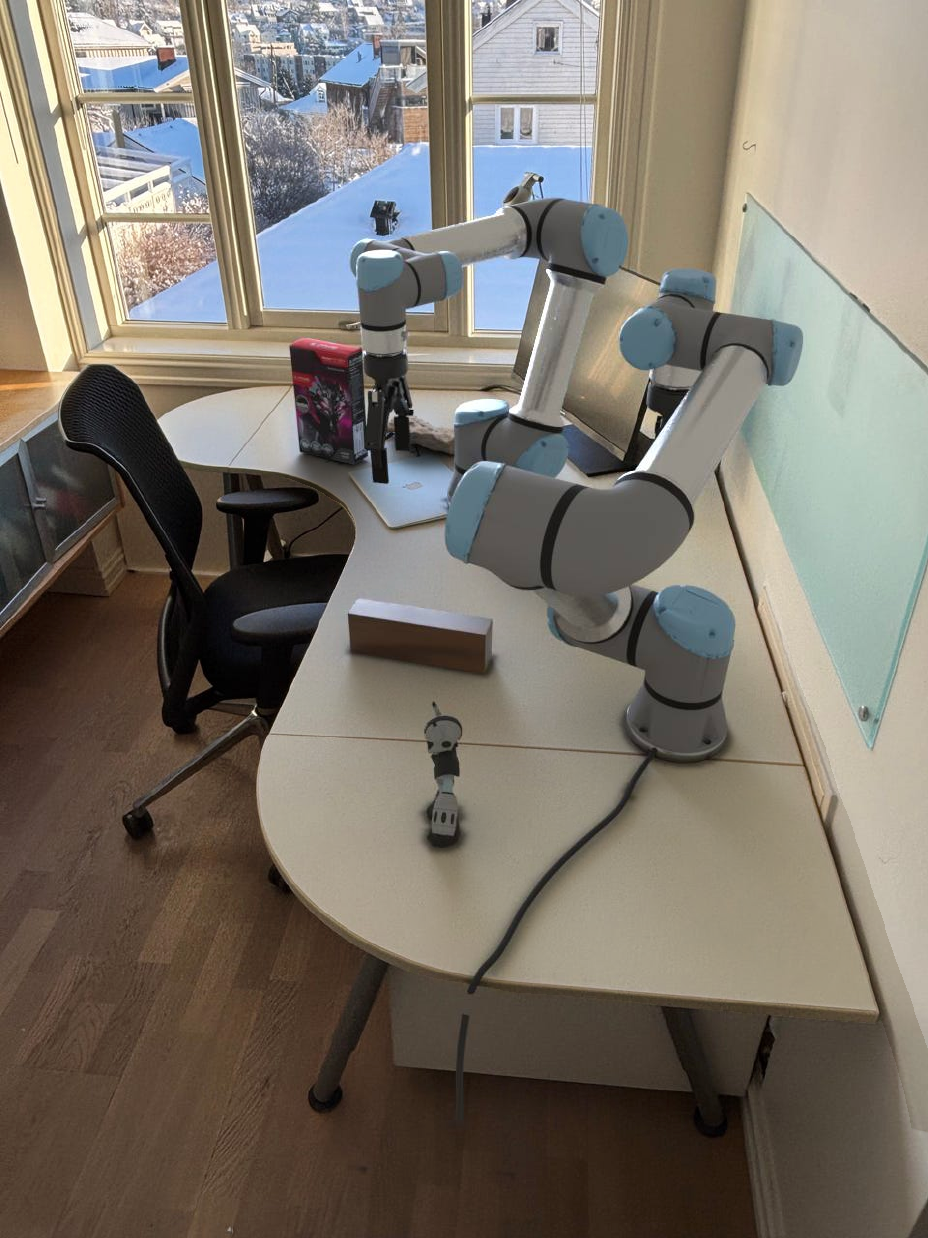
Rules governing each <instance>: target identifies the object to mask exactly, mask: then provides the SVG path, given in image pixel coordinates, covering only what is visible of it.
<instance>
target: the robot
mask: <svg viewBox="0 0 928 1238" xmlns="http://www.w3.org/2000/svg"><path fill="white" fill-rule="evenodd" d="M431 706H432V708H433V711H434V714H435V716H434V717H432V718H431V719H430V720H429V721H428V722H425V723H426V724H425V726H424V728H423V734H424V740H426V744H427V746H426V747H427V753H428V754H430V758H431V760H432V763H433V764H434V766H433V775H434V777H433V778H434V780H435V782H436V784H437V788H438V789H437V791H436V794H435V796H434V799H433V800H432V802H431V803H430V805H429V806H428V807H427V809H426V811H425V812H426V814H427V817H428V819H429V820H430V821H431V826H430V829H429V830H428V832H427V836H426V839H427V841H429V842H430V844H431V845H432V846H434V847H438V848H443V847H445V848H446V847H449V846H451V845H453V844H455V843H458V841H459V838H460V835H461V830H460V823H459V820H458V816H459V815H460V812H459V803H458V798H457V795H455V793H454V792H453V790H454V789H453V788H454V786H455V779H454V778H455V777H457V778H459V777H460V774H461V769H460V761H459V757H458V755H457V754H458V752H457V748H458V747H459V743H458V741H460V740H461V738H462V737H463V726H462V723H461V721H460V720H459V719H458V718H455V716H452V715H450V714H447V713H446V714H442V712H441V710H440V709H439V706H438V705H437V703H436V702H435V701H432V702H431Z"/></svg>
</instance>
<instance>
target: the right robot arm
mask: <svg viewBox="0 0 928 1238" xmlns="http://www.w3.org/2000/svg"><path fill="white" fill-rule="evenodd" d="M716 291H717V279H716V277H715V275H714V274H712V273H711V272H709V271H706V270H702V269H696V268H673V269H669V270H667V271H666V272H664V274H662V277H661V282H660V287H659V289H658V298H657V299H656V300H654V301H652V302H650V303H649V304H647V305H645V306H642V307H641V308H640V307H639V309H637V310H636V311H635V312H634V313H633V314H632V315H630V316H629V317H628V318H627V319H626V321H625V322H624V323H623V324H622V326H621V328H620V331H619V335H618V347H619V351H620V353H621V356H622V357H623V359H624V360H625V361H626V362H627V363H628V364H629V365H630V366H631V367H632V368H635V369H637V370H640V371H649V375H648V378H649V380H650V381H649V382H648V385H647V393H646V401H645V403H646V407H647V408H648V409H649V410H650V411H652V412H654V413H657V417H656V420H655V424H654V440H653V443H652V444H651V446H650V447H649V449H648V451H647V452H646V453H645V455H644V456H643V458H642V460H640V462H639V464H638V465H637V467H636V468H635V470H633V471H629V472H626V473H624V474H623V475H621V476H620V477H618V479H617V480H616V481H615V483H614V484H613V485H612V487H610V488H607V489H600V488H594V487H590V486H586V485H584V484H583V485H582V484H579V483H575V482H571V481H566V480H563V479H560V478H556V477H555V478H552V477H548V476H545V475H541V474H537V473H533V472H530V471H526V470H522V469H519V468H515V467H511V466H507V465H506V464H505V463H496V462H489V461H482V462H478V463H476V464H474V465H473V466H472V467H471V468H470V469H469V470H468V471H467V472H466V473H465V474H464V476H463V477H462V479H461V480H460V482H459V484H458V486H457V488H456V490H455V492H454V494H453V497H452V499H451V502H450V505H449V506H448V509H447V513H446V518H445V526H444V544H445V547H446V550H447V552H448V554H449V555H450V556H451V557H452V558H453V559H454V558H455V559H457V560H458V561H461V562H462V563H463V564H466V565H468V564H471V565H474V566H477V567H480V568H483V569H485V570H487V571H488V572H491V573H492V575H495V576H496V577H497V578H498V579H499V580H500V581H502V582H503V583H504V584H506V585H507V586H509V587H510V588H513V589H516V590H520V591H525V592H526V591H527V592H531V591H532V592H534V593H535V594H536V595H537V596H538V597H539V598H541V599H542V600H543V601H544V602H546V604H547V608H546V609H547V610H546V618H548V620H547V626H548V629H549V631H550V633H551V634H552V636H553V637H554V638H556V639H557V640H558V641H561V642H563V644H566V645H568V646H570V647H573V648H578V649H582V650H585V651H587V652H590V653H594V654H597V655H599V656H602V657H606V658H608V659H612V660H614V661H617V662H620V663H623V664H626V665H629V666H631V667H634V668H637V669H640V670H643V671H644V677H643V682H642V684H641V685H640V688H639V689H638V691H637V692H636V694H635V695H634V697H633V699H632V701H631V702H630V704H629V705H628V707H627V711H626V719H625V728H626V732H627V734H628V736H629V738H630V739H631V741H632V742H634V744H636V745H637V746H638V747H639V748H640V749H641V750H643V751H645V752H646V753H648V754H647V756H646V757H645V758H644V760H643V761H642V762H641V764H640V765H639V767H638V768H637V769H636V771H635V773H634V774H633V776H632V778H631V779H630V781H629V783H628V785H627V787H626V789H625V792H624V794H623V796H622V798H621V799H620V801H619V803H618V804H617V805H616V807H615V808H614V809H613V810H612V811H611V812H610V813H608V815H607V816H605V818H603V819H602V820H601V821H600V822H599V823H598V824H596V825H595V826H593V828H592V829H590V830H589V831H587V833H586V834H585V835H584V836H582V837H581V839H579V840H578V841H577V842H576V843H575V844H574V845H573V846H572V847H570V848H569V849H568V850H567V851H566V852H565V853H564V854H563V855H562V856H561V857H560V858H559V859H558V860H557V861H556V862H555V863H554V864H553V865H552V866H551V867H550V868H549V870H547V871H546V873H545V874H544V875H543V876H542V877H541V879H540V880H539V881H538V882H537V883H536V885H535V886H534V888H532V890H531V891H530V892H529V894H528V896H527V897H526V899H525V900H524V902H523V903H522V904H521V906H520V907H519V909H518V910H517V912H516V914H515V916H514V917H513V919H512V921H511V923H510V925H509V926H508V929H507V930H506V932H505V934H504V936H503V938H502V939H501V941H500V943H499V944H498V946H497V947H496V948H495V950H494V951H493V953H492V954H491V955H490V956H489V957H488V958H487V959H486V960H485V961H484V962H483V963H482V964H481V966H480V967H479V968H478V969H477V971H476V972H475V973H474V976H473V978H472V979H471V982H470V983H469V986H468V989H467V990H466V992H467V995H473V994H475V992H476V991H477V988H478V986H479V984H480V982H481V980H482V979H483V977H484V976H485V974H486V973H487V971H488V970H489V969H490V968H492V967H493V966H494V964H495V963H496V962H497V961H498V960H499V958H500V957H501V956H502V954H503V953H504V951H505V950H506V948H507V946H508V945H509V943H510V942H511V939H512V938H513V937H514V934H515V932H516V931H517V928H518V927H519V924H520V923H521V921H522V919H523V917H524V916H525V914H526V913H527V911H528V909H529V908H530V906H531V905H532V903H533V902H534V901H535V900H536V898H537V896H538V895H539V893H540V892H541V891H542V890H543V889H544V887H545V886H546V885H547V884H548V883H549V881H550V880H551V879H552V878H553V877H554V875H555V874H557V872H558V871H559V870H560V869H561V868H562V867H563V866H564V865H565V864H566V862H568V861H569V860H570V859H571V858H572V857H573V856H574V855H575V854H576V853H578V851H580V850H581V849H582V848H583V847H585V845H586V844H587V843H588V842H590V840H592V838H594V837H595V836H596V835H597V834H598V833H600V832H601V831H602V830H603V829H604V828H606V827H607V826H608V825H609V824H610V823H611V822H613V821H614V819H616V818H617V816H618V815H619V814H620V813H621V812H622V810H623V809H624V807H625V806H626V804H627V803H628V802H629V800H630V797H631V795H632V793H633V791H634V788H635V786H636V784H637V783H638V781H639V779H640V778H641V775H643V772H645V770H646V769H647V767H648V765H649V764H650V763H651V761H652V760H653V758H654V757H656V758H659V759H662V760H666V761H670V762H675V763H694V762H700V761H703V760H706V759H709V758H711V757H714V755H716V754H718V752H720V751H721V750H722V748H723V747H724V744H725V743H726V740H727V739H726V738H727V734H728V721H727V716H726V712H725V708H724V707H725V706H724V701H723V692H724V686H725V682H726V678H727V674H728V668H729V664H730V659H731V654H732V652H733V649H734V646H735V631H736V617H735V615H734V612H733V611H732V609H730V607H729V605H728V603H726V601H725V600H724V599H722V598H721V597H719V596H718V595H717V594H715V593H713V592H711V591H709V590H707V589H705V588H702V587H699V586H695V585H690V584H684V585H682V586H681V585H679V584H672V585H669V586H666V587H664V588H662V589H661V590H660V591H659V592H658V591H655V590H653V589H650V588H646V587H643V586H639V585H636V583H638V582H639V581H641V580H643V579H644V578H646V577H648V576H649V575H650V574H651V573H653V572H655V571H656V570H657V569H660V568H661V567H662V565H664V564H665V563H666V562H667V561H668V560H669V559H670V558H671V557H672V556H674V554H675V553H676V552H677V551H678V550H679V549H680V547H681V546H682V545H683V543H684V542H685V540H686V539H687V537H688V535H689V533H690V531H691V530H692V528H693V526H694V524H695V520H696V510H695V504H696V503H697V501H698V499H699V498H700V496H701V495H702V493H703V492H704V490H705V487H706V486H707V484H708V482H709V481H710V479H711V477H712V476H713V474H714V472H715V471H716V469H717V467H718V465H719V464H720V462H721V460H722V459H723V457H724V456H725V453H726V452H727V451H728V449H729V447H730V445H731V444H732V442H733V440H734V438H735V436H737V433H738V432H739V430H740V428H741V427H742V425H743V423H744V422H745V420H746V418H747V416H748V414H749V413H750V411H751V409H752V408H753V406H754V405H755V403H756V401H757V399H758V398H759V396H760V394H761V393H762V391H763V389H764V388H765V386H766V385H767V386H770V387H772V386H776V387H777V386H778V387H784V386H786V385H788V384H789V383H791V381H792V380H793V379H794V377H795V374H796V372H797V369H798V368H799V367H798V366H799V364H800V360H801V357H802V352H803V347H804V333H803V330H802V328H800V327H799V326H798V325H795V324H792V323H788V322H783V321H779V320H776V319H775V318H771V319H768V318H767V319H766V318H761V317H753V316H747V315H740V314H733V313H726V312H720V311H716V310H715V311H714V307H715V306H714V305H715V304H716V303H717V302H716V301H717V299H716ZM469 1023H470V1015H468V1014H465V1013H462V1014H461V1019H460V1027H459V1033H458V1040H457V1049H456V1063H455V1124H456V1125H457V1126H461V1125H462V1124H463V1113H464V1066H465V1065H464V1062H465V1050H466V1042H467V1041H466V1040H467V1036H468V1035H467V1034H468V1028H469Z"/></svg>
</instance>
